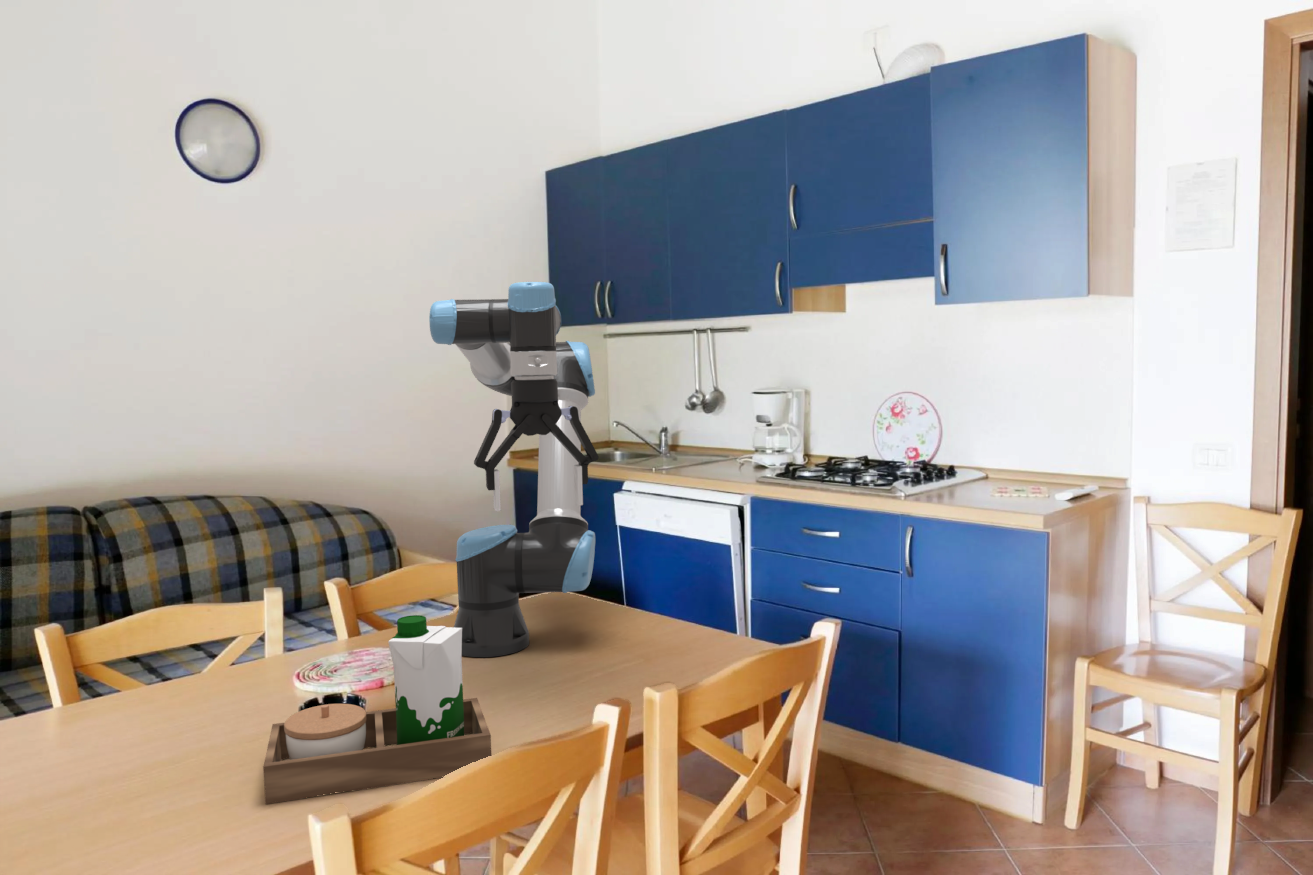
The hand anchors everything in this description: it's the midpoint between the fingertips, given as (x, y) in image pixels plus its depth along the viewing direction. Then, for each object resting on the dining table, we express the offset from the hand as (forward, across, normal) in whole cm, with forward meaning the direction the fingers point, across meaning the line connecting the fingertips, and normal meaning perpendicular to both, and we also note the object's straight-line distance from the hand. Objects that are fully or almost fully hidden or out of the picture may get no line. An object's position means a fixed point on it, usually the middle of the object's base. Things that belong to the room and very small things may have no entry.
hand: (538, 507), depth 157 cm
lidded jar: (+32, -34, -19) cm, 50 cm away
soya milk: (+32, -20, -19) cm, 42 cm away
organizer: (+32, -27, -19) cm, 46 cm away
